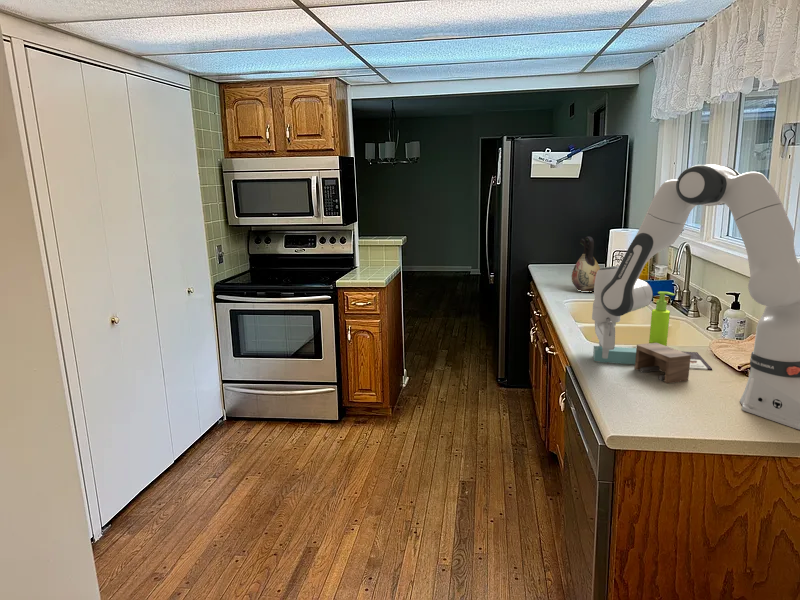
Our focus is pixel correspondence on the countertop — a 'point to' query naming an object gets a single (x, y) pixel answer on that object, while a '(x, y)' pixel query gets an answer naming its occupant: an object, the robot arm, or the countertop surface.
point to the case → (616, 355)
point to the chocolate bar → (697, 361)
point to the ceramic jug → (585, 267)
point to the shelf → (663, 361)
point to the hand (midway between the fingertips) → (603, 354)
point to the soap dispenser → (660, 321)
